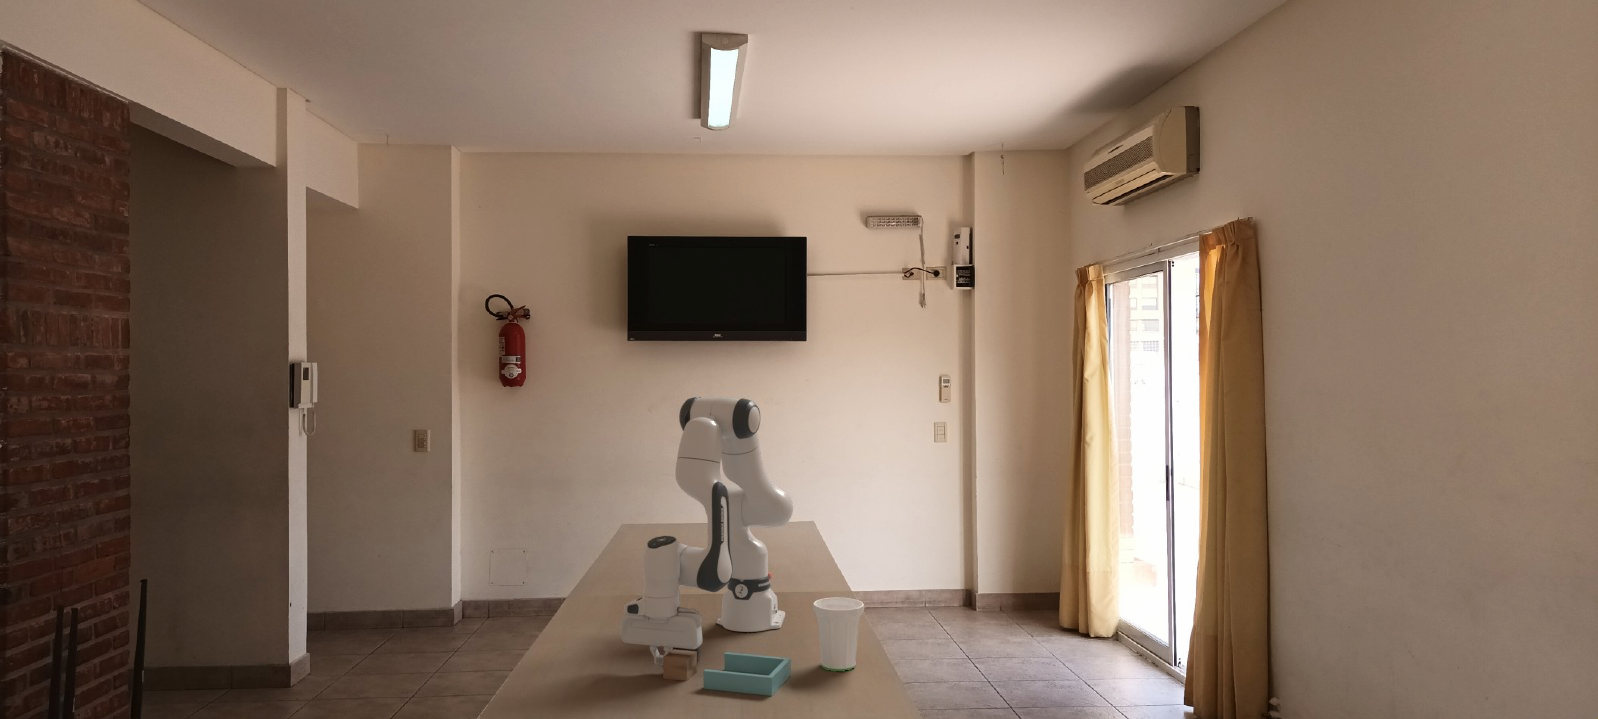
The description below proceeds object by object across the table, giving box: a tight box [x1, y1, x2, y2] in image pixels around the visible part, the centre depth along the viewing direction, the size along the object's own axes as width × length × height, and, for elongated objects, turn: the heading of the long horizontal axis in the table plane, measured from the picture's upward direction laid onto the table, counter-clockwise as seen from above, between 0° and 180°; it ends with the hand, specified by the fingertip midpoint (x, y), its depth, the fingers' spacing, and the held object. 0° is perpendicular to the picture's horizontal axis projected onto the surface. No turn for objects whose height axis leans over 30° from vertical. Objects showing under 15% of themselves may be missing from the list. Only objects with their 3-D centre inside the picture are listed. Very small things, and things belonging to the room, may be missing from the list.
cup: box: [812, 596, 865, 672], centre depth 225 cm, size 12×12×15 cm
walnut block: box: [662, 650, 698, 682], centre depth 218 cm, size 6×6×5 cm
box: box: [702, 651, 792, 697], centre depth 214 cm, size 14×16×4 cm
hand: (661, 663), depth 220 cm, fingers closed
